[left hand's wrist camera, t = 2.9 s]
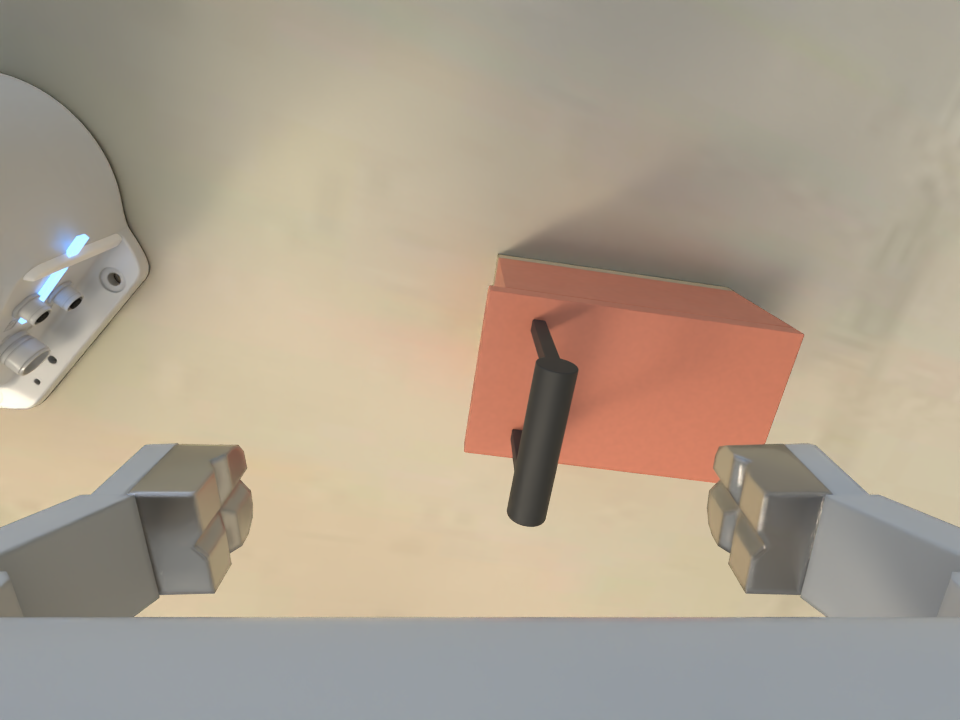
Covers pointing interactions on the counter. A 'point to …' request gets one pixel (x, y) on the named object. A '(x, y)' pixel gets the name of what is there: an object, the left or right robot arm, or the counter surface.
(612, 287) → the chest
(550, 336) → the lid
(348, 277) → the counter surface
